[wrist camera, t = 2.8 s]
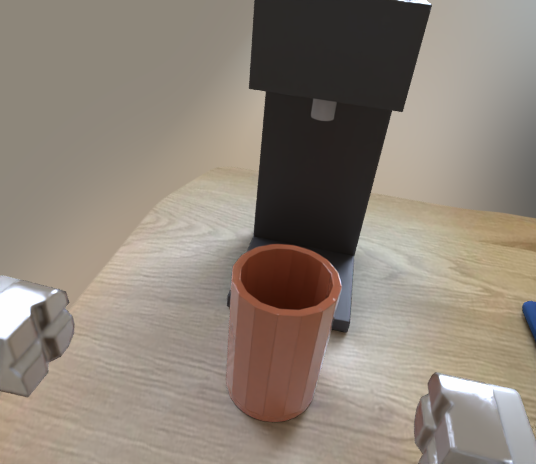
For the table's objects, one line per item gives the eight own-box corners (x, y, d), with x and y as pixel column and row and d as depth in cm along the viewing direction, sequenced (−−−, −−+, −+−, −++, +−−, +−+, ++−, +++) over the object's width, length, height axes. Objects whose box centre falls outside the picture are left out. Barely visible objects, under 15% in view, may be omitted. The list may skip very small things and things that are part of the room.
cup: (209, 399, 27) (212, 291, 22) (248, 334, 32) (258, 233, 27) (299, 438, 26) (324, 332, 20) (325, 363, 31) (351, 262, 25)
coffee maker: (347, 333, 33) (446, -14, 20) (226, 306, 34) (243, -37, 21) (352, 248, 43) (421, -23, 30) (259, 229, 44) (284, -38, 31)
